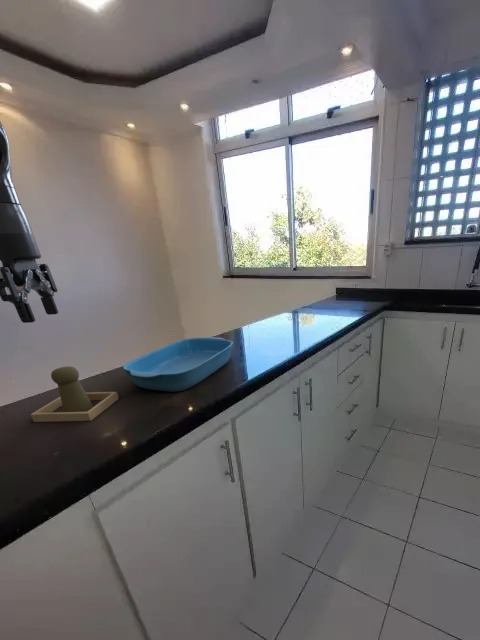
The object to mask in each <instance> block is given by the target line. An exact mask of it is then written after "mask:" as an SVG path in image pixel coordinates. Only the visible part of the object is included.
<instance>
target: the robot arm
mask: <svg viewBox="0 0 480 640" xmlns="http://www.w3.org/2000/svg"><path fill="white" fill-rule="evenodd" d="M7 134H8V133H7V132H6V130H5V127H4V125H3V123H2V122H1V121H0V262H1V266H0V299H1V301H2V302H3V303H4V302H8V303H10V304H13V305H14V307H15V310H16V313H17V315H18V318H19V319H20V321H21V322H22V323H23V324H29V323H34V322H36V317H35V315H34V311H33V310H32V307H31V305H30V302H28V299H29V297H28V295H29V294H30V293H31V290H33V291H35V292H36V293H37V295H38V296H39V297H40V301H41V303H42V306H43V308H44V312H45V314H46V315H48V316H50V315H57V314H59V310H58V307H57V304H56V302H55V299H54V296H55V293H58V287H57V285H56V282H55V280H54V277H53V275H52V272H51V270H50V267H49V265H48V264H47V263H37V261H36V260H38V259H41V258H42V255H41V252H40V249H39V246H38V244H37V241H36V238H35V235H34V233H33V230H32V227H31V224H30V221H29V219H28V216H27V214H26V213H25V210H24V209H23V206H22V204H21V201H20V198H19V195H18V192H17V190H16V188H15V185H14V181H13V177H12V163H11V154H10V153H11V152H10V144H9V143H10V142H9V139H8V135H7ZM6 290H7V291H9V292H8V293H7V291H6Z"/></svg>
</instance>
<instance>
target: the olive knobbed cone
mask: <svg viewBox="0 0 480 640" xmlns="http://www.w3.org/2000/svg"><path fill="white" fill-rule="evenodd" d="M50 377H51V380H52V382H54V383H55V384H57V388H58V392H59V397H61V401H62V406H61V407H62V409H63V412H87V411H89V410H90V409H91V408H93V407H94V405H93V403H92V402H91V401H92V400H89V398H88V396H87V394H86V393H87V392H86V391H85V389H84V387H83V385H82V384H81V381H80V380H79V378H80V374H79V371H78V369H77V368H75V367H74V366H61V367H58V368H55V369H54V370H52V371H51V373H50Z"/></svg>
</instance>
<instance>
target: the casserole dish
mask: <svg viewBox="0 0 480 640" xmlns="http://www.w3.org/2000/svg"><path fill="white" fill-rule="evenodd" d="M233 345H234V342H233V341H232V340H229V339H225V338H222V337H217V336H204V337H203V336H202V337H190V338H184V339H180V340H177V341H174V342H171V343H169V344H167V345H164V346H163V347H160V348H158V349H155V350H153V351H150V352H148V353H146V354H143V355H140V356H139V357H136V358H134V359H132V360H130V361H128V362H127V363H125V364H124V365H123V366H122V370H123V371H125V373H126V375H127V376H128V377H129V379H130V380H131V382H132V383H133V384H134V385H136V386H137V387H139V388H140V389H141V388H142V389H145V390H151V391H159V392H166V393H167V392H168V393H179V392H183V391H186V390H189V389H190V388H193V387H194V386H196V385H197V384H199V383H201V382H202V381H203V380H206V379H207V378H208V377H209V376H210V375H212V374H214V373H216V371H218V370H219V369H221V368H223V367H224V366H225V365H226V364H227V363H228V362H229V360H230V358H231V356H232V351H233Z"/></svg>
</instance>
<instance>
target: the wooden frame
mask: <svg viewBox="0 0 480 640" xmlns="http://www.w3.org/2000/svg"><path fill="white" fill-rule="evenodd" d="M85 393H86V394H87V396H88V398H89V400H90V401H99V402H98V403H97V404H95V405H93V407H92V408H91V409H90V410H88V411H86V412H64V411H59V412H58V411H57V412H55V411H56V410H58V409H59V408H61V407H63V406H62V401H61V397H60V396H58V397H57V398H55V399H54V400H52V401H50V402H49V403H47V404H45V405H43V406H42V407H40V408H39V409H37V410H35V411H33V412H32V413H31V414H29V415H30V417H31V419H32V421H33V423H38V422H39V423H43V422H45V423H46V422H47V423H49V422H87V421H88V422H92V421H93V420H94V419H95V418H97V417H98V416H99V415H100V414H102V413H104V411H105V410H107V409H108V408H110V406H112V405H113V404H114V403H115V402H117V401H118V400H119V394H118V392H117V391H97V392H96V391H95V392H94V391H93V392H92V391H91V392H85Z"/></svg>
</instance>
